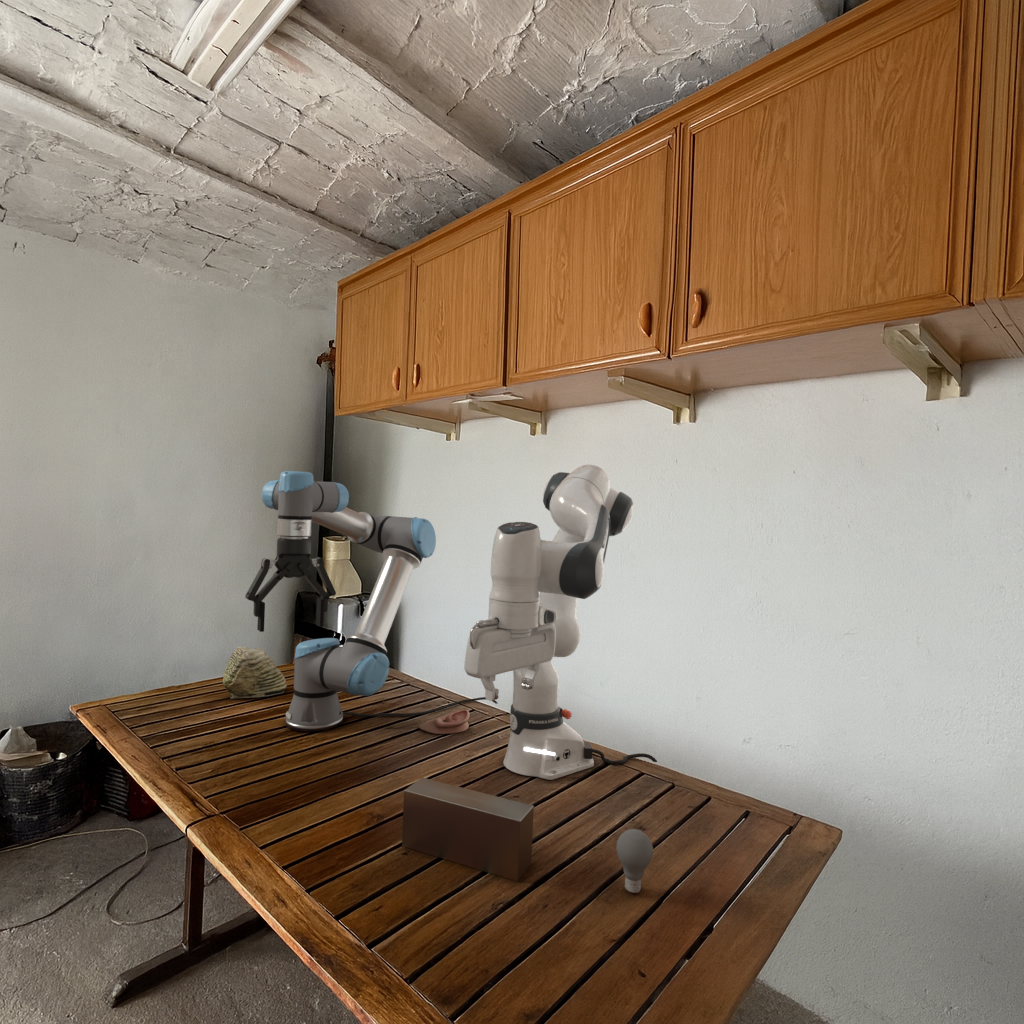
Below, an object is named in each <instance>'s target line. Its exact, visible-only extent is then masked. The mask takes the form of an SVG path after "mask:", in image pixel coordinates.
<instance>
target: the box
mask: <svg viewBox="0 0 1024 1024" xmlns="http://www.w3.org/2000/svg"><path fill="white" fill-rule="evenodd" d="M402 808H403V809H402V810H403V812H402V830H401V831H402V833H401V846H402V847H403V848H407V849H410V850H414V851H416V852H419V853H423V854H425V855H430V856H433V857H436V858H439V859H442V860H446V861H449V862H452V863H455V864H459V865H462V866H465V867H469V868H471V869H474V870H478V871H481V872H483V873H487V874H490V875H495V876H497V877H501V878H504V879H507V880H510V881H513V882H517V883H518V882H519V881H520V879H521V878H522V876H523V875H524V874H525V873H526V872H527V870H528V868H529V867H530V866H531V864H532V859H533V857H532V856H533V834H534V814H535V813H534V809H535V806H534V805H533V804H530V803H529V804H528V803H524V802H520V801H517V800H513V799H509V798H505V797H501V796H497V795H493V794H489V793H485V792H480V791H477V790H473V789H470V788H466V787H461V786H458V785H453V784H451V783H446V782H442V781H438V780H434V779H430V778H426V777H420V778H419V779H418V780H416V781H415V782H414V783H412V784H411V785H409V786H408V787H407V788H405V789H403V807H402Z"/></svg>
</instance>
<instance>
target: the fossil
mask: <svg viewBox="0 0 1024 1024" xmlns="http://www.w3.org/2000/svg"><path fill="white" fill-rule="evenodd" d="M222 676H223V677H222V685H223V687H224V688H225V690H226V691H228V693H229V698H230V699H250V698H264V697H271V696H275V695H281V694H284V693H285V691H286V689H287V687H288V686H287V680H286V678H285V676H284V674H283V673H282V672H281V669H279V668H278V667H277V665H276V663H275V662H274V660H273V659H272V658H271V657H270V656H269V655H268V654H267V653H266V652H265V650H264V649H263V648H260V647H258V648H251V647H247V646H246V647H245V646H238V647H237V648H236V649H235V650H233V651H232V653H231V656H230V657H229V659H228V660H227V663H226V666H225V668H224V671H223V675H222Z"/></svg>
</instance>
